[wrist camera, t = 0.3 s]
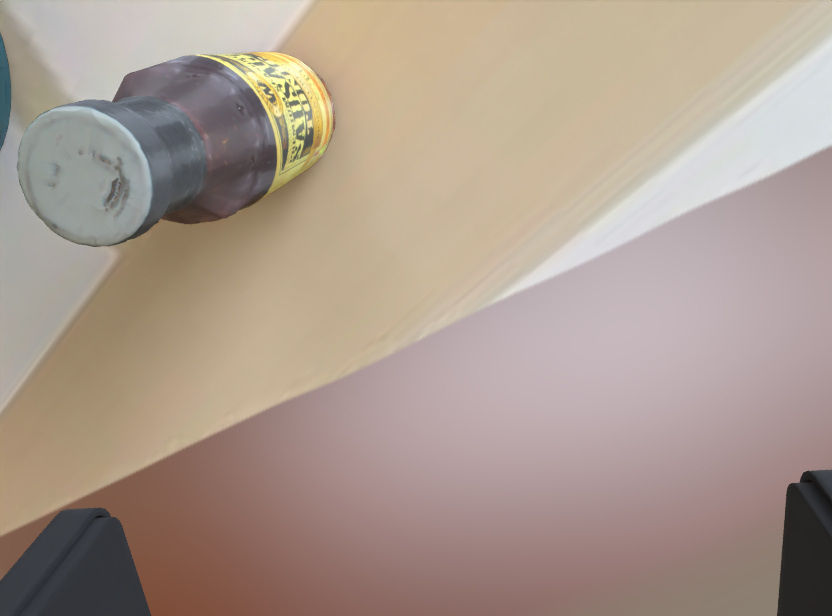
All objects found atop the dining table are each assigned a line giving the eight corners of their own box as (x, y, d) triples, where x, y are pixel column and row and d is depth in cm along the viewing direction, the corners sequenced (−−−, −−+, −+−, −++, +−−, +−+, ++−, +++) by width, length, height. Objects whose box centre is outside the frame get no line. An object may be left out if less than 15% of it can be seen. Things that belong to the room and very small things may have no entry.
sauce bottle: (362, 130, 39) (255, 232, 20) (271, 192, 40) (94, 339, 22) (289, 19, 37) (98, 21, 18) (196, 88, 38) (-63, 154, 20)
